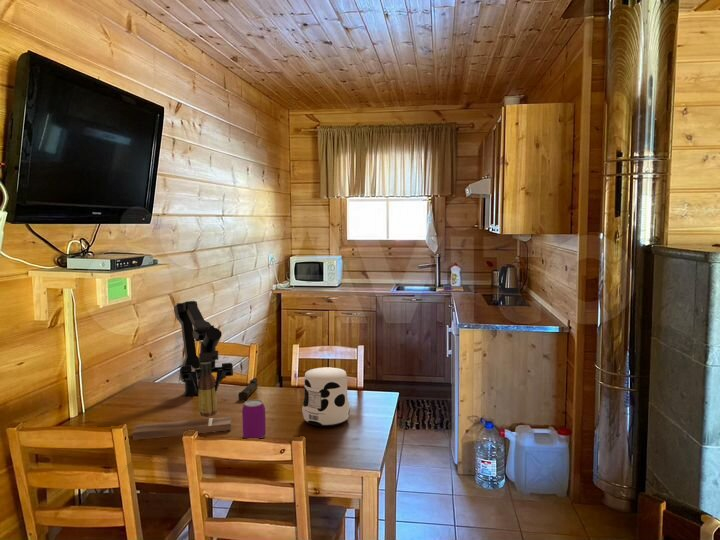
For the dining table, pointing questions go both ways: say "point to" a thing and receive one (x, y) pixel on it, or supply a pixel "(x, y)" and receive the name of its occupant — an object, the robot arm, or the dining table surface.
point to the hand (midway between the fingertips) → (206, 391)
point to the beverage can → (254, 419)
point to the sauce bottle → (207, 391)
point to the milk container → (325, 397)
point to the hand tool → (248, 390)
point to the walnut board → (181, 427)
